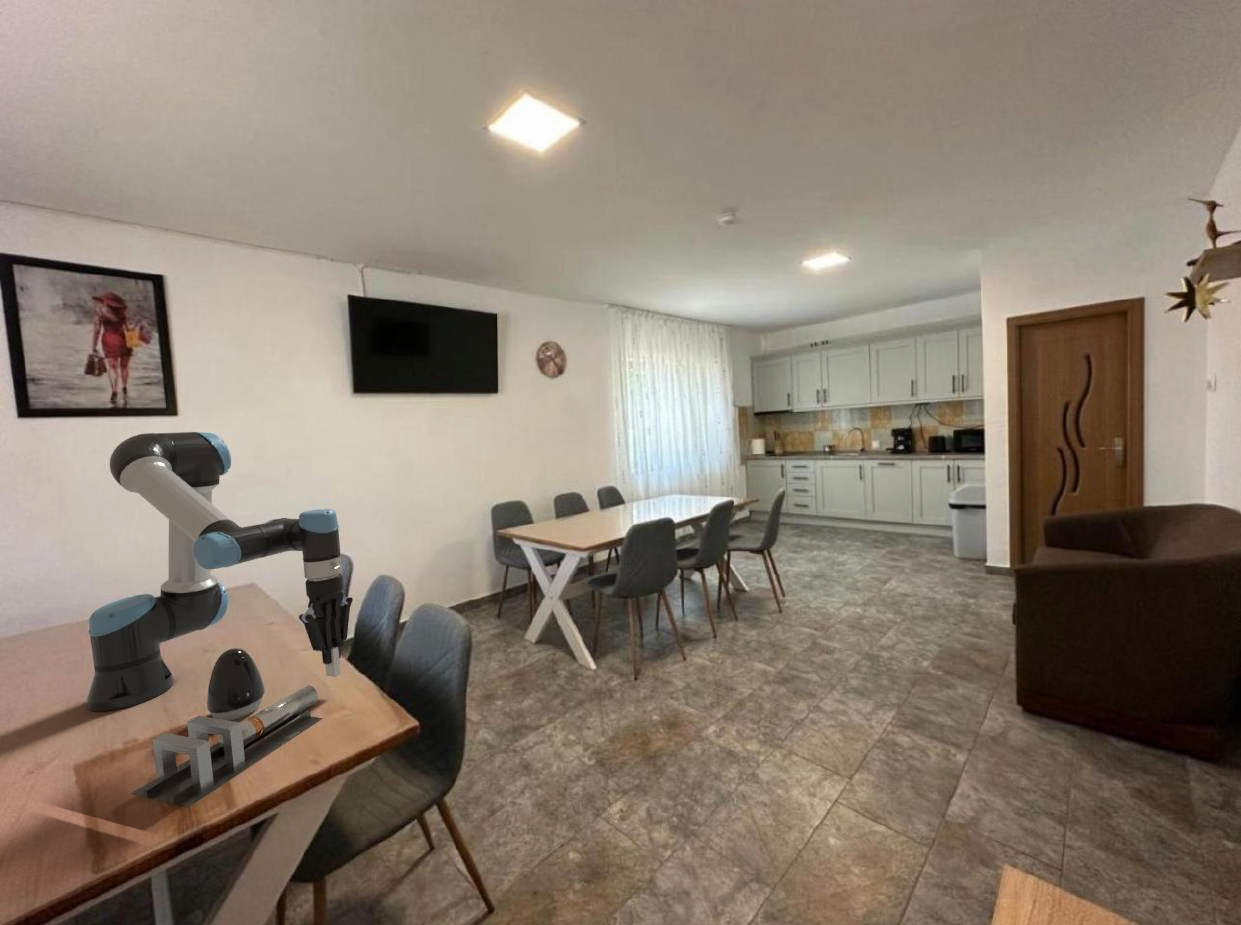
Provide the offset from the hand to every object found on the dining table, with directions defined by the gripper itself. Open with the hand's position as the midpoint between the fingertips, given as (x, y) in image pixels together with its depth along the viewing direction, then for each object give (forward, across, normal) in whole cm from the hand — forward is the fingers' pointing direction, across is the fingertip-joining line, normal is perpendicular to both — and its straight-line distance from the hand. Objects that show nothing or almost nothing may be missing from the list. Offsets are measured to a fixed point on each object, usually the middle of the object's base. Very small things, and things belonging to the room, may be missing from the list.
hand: (333, 674), depth 118 cm
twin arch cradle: (+5, -22, 0) cm, 23 cm away
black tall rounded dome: (+5, -12, +15) cm, 20 cm away
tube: (+4, -14, 0) cm, 15 cm away
